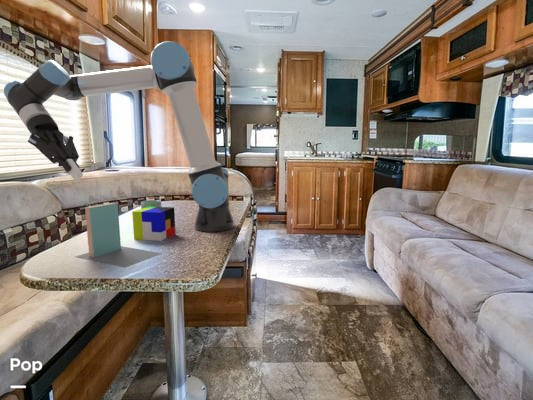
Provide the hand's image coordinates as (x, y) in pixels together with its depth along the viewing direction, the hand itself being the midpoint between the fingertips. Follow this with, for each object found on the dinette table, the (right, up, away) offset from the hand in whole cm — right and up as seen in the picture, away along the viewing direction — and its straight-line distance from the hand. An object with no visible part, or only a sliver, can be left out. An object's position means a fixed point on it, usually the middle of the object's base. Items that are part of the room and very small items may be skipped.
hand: (79, 177), depth 97 cm
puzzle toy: (+17, -20, +18) cm, 31 cm away
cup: (+10, -17, +35) cm, 40 cm away
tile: (+8, -22, -1) cm, 23 cm away
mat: (+13, -23, -3) cm, 26 cm away
